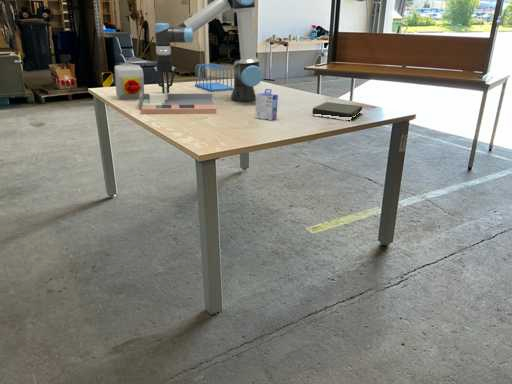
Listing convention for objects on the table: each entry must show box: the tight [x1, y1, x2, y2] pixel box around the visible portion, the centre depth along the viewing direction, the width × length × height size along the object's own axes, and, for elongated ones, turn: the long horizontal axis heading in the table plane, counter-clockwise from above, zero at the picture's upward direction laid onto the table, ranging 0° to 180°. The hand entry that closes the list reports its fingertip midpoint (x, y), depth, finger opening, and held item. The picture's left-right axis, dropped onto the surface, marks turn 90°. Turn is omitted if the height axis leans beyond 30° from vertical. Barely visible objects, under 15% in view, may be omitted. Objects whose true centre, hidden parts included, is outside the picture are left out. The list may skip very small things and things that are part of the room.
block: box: [148, 91, 165, 103], centre depth 236 cm, size 8×8×4 cm
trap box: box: [138, 90, 217, 115], centre depth 233 cm, size 40×28×7 cm
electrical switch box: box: [114, 63, 145, 101], centre depth 252 cm, size 15×15×20 cm
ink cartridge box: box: [255, 88, 279, 121], centre depth 215 cm, size 10×6×14 cm, turn 58°
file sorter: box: [194, 63, 234, 93], centre depth 297 cm, size 25×17×15 cm
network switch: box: [312, 101, 363, 117], centre depth 229 cm, size 23×24×5 cm
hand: (166, 99), depth 238 cm, fingers closed
